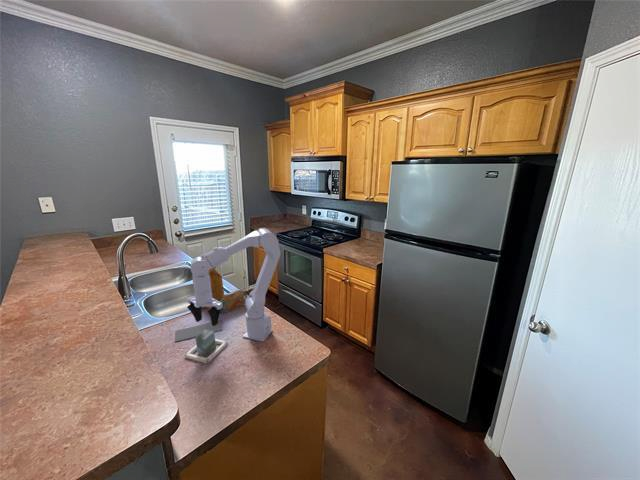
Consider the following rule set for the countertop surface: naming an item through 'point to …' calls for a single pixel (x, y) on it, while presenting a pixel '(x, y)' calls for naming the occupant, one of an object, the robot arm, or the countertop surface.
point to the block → (205, 342)
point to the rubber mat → (196, 331)
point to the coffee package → (216, 284)
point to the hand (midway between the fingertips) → (207, 322)
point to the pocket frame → (208, 359)
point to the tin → (232, 300)
